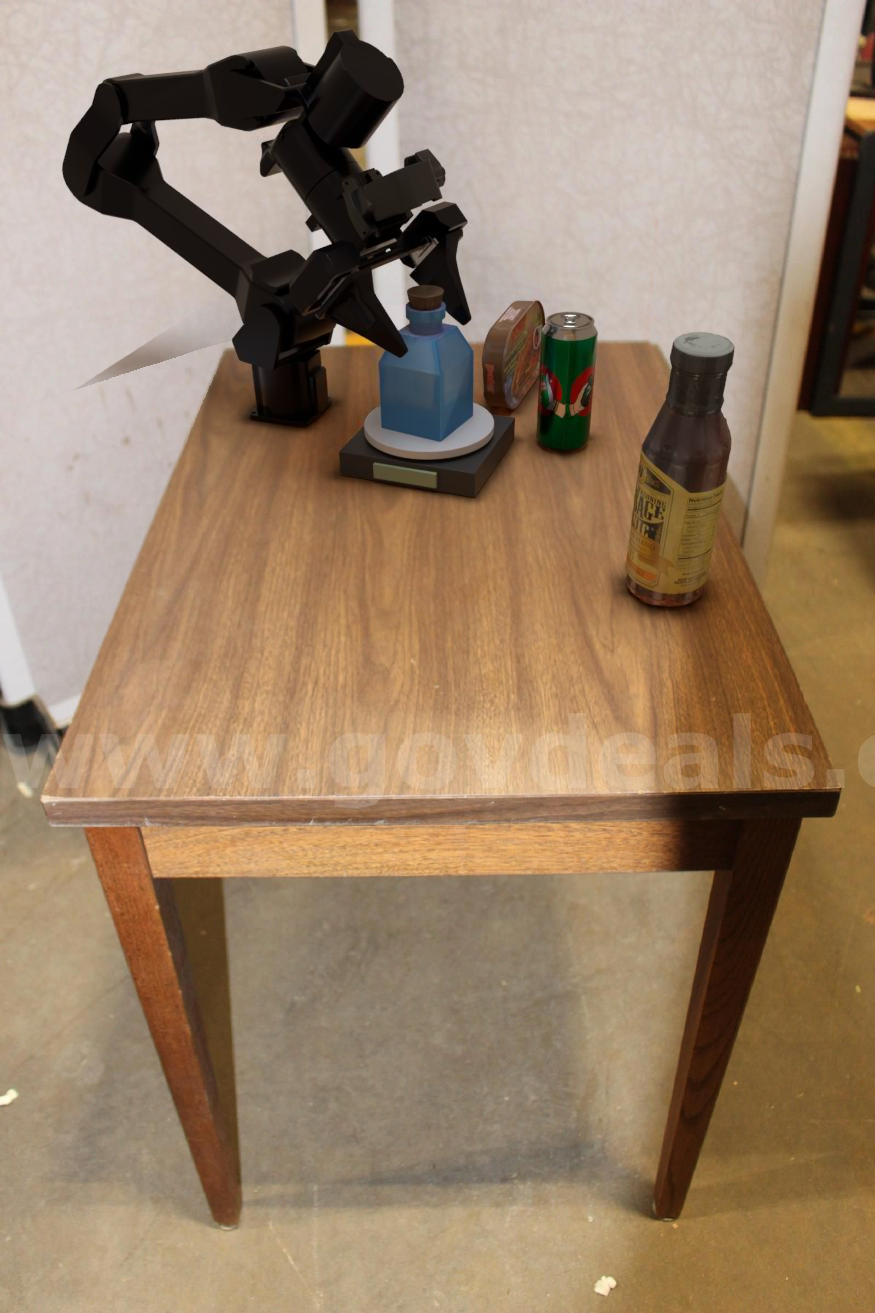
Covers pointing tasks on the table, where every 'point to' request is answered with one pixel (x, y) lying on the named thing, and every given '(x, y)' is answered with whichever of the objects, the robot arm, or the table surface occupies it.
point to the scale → (430, 454)
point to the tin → (513, 354)
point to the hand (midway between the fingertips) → (437, 338)
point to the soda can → (566, 381)
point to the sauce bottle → (682, 476)
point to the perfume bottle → (427, 372)
